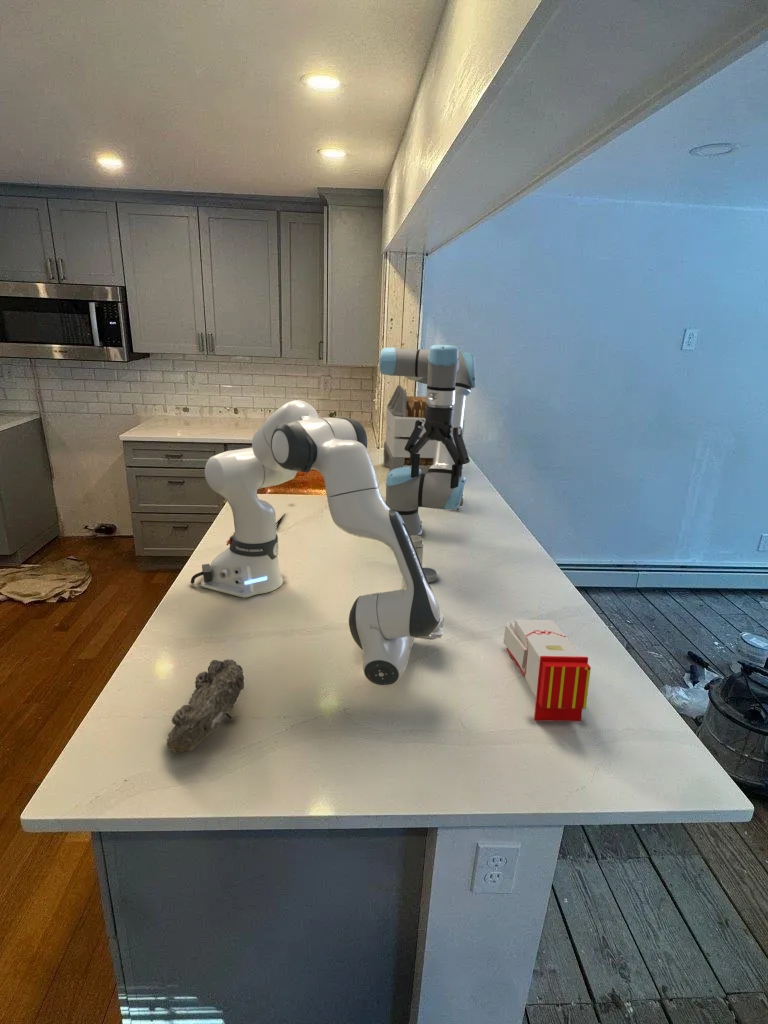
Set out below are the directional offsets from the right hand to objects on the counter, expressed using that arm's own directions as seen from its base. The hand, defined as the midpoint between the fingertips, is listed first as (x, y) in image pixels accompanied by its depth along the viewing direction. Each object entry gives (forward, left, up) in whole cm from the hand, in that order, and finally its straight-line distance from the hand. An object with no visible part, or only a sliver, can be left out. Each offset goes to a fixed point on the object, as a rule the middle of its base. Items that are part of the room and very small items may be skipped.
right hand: (433, 482), depth 158 cm
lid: (0, 0, -28) cm, 28 cm away
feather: (-67, -8, -30) cm, 74 cm away
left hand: (+16, -24, -23) cm, 37 cm away
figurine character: (-40, +55, -30) cm, 74 cm away
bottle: (+8, -14, -30) cm, 34 cm away
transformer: (-83, +78, -30) cm, 118 cm away
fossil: (+18, -76, -30) cm, 83 cm away
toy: (+50, -15, -30) cm, 60 cm away
